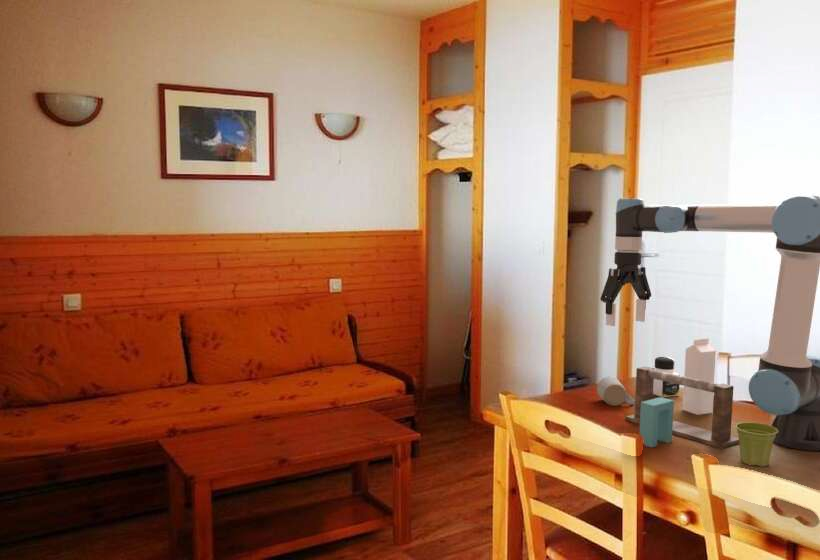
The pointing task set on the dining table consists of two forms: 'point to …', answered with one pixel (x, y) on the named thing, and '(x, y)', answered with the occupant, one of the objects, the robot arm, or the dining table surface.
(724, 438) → the hanger stand
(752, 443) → the plant pot
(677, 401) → the dining table surface
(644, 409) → the teal block
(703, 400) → the milk
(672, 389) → the medicine bottle
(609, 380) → the ceramic mug
